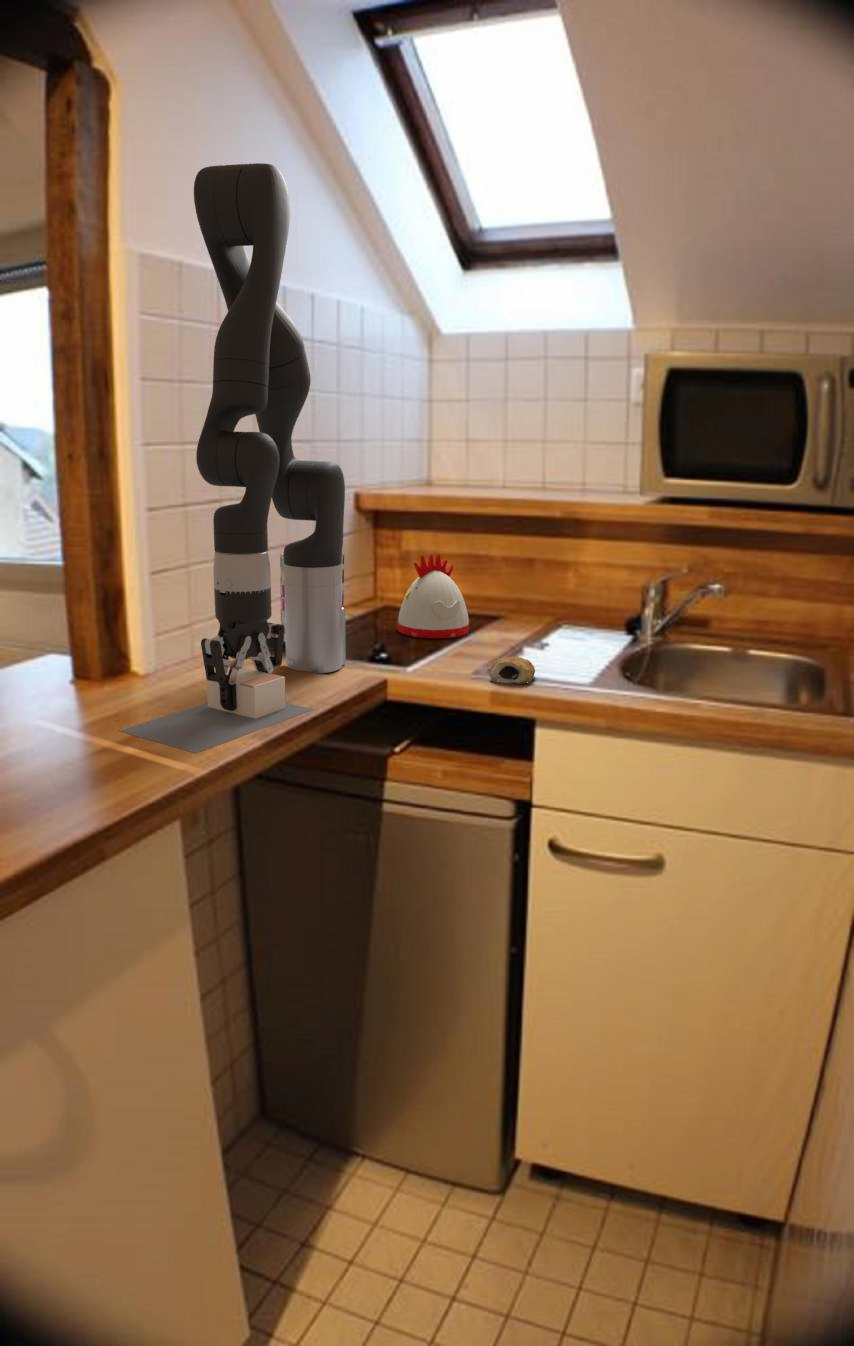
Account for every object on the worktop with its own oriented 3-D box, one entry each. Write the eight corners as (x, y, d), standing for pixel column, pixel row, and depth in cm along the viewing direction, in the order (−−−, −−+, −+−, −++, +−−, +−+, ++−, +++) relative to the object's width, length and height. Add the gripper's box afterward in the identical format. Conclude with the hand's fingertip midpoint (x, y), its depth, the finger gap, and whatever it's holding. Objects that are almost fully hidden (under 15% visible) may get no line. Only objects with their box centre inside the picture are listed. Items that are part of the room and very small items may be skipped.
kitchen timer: (387, 625, 186) (387, 550, 182) (448, 620, 192) (450, 548, 188) (415, 640, 174) (416, 560, 170) (480, 635, 180) (483, 557, 176)
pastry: (500, 669, 156) (501, 646, 155) (540, 673, 154) (542, 650, 153) (487, 683, 147) (489, 660, 146) (530, 688, 146) (531, 664, 144)
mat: (241, 695, 137) (240, 691, 137) (314, 713, 130) (314, 709, 130) (119, 735, 120) (118, 730, 119) (195, 757, 112) (195, 753, 112)
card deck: (238, 696, 135) (237, 666, 134) (285, 708, 130) (284, 676, 129) (207, 706, 130) (206, 675, 129) (255, 718, 125) (254, 686, 124)
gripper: (259, 574, 133) (262, 687, 138) (182, 588, 122) (188, 711, 126) (299, 580, 129) (301, 696, 134) (223, 595, 118) (228, 721, 122)
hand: (246, 703), depth 130 cm, fingers closed on card deck, 6 cm apart
